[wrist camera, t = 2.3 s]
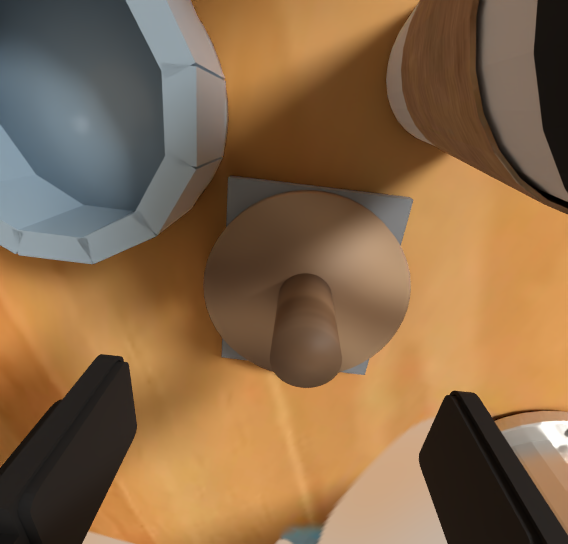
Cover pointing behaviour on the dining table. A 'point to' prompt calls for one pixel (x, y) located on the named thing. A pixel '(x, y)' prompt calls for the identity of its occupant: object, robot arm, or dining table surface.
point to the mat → (254, 190)
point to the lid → (307, 285)
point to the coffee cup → (489, 88)
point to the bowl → (104, 123)
